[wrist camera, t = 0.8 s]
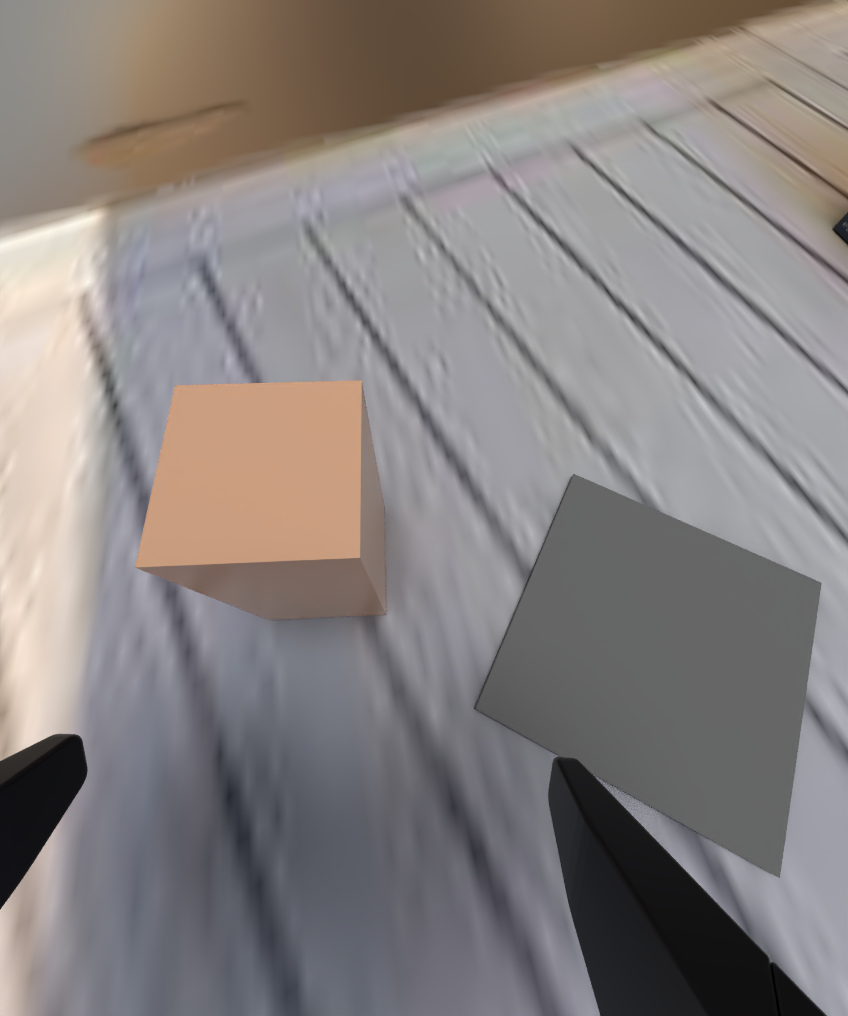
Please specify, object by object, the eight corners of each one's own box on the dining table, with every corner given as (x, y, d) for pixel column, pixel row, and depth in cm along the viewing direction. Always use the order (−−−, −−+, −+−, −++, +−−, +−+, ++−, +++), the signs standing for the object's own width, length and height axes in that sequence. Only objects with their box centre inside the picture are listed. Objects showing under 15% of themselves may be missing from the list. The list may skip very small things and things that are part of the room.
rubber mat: (772, 873, 18) (779, 877, 17) (474, 708, 20) (475, 709, 20) (814, 584, 23) (821, 582, 22) (571, 477, 25) (573, 473, 24)
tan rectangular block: (386, 614, 21) (360, 558, 11) (269, 620, 21) (135, 567, 11) (384, 507, 24) (361, 380, 14) (278, 511, 24) (175, 385, 13)
